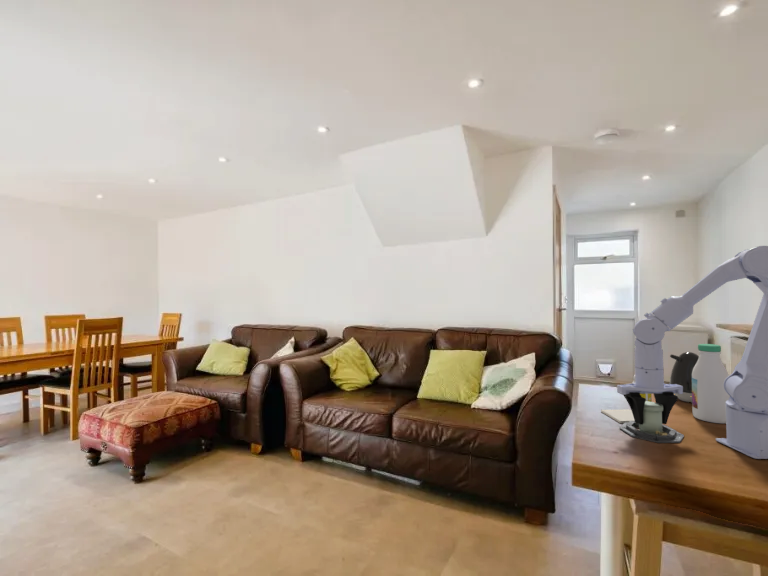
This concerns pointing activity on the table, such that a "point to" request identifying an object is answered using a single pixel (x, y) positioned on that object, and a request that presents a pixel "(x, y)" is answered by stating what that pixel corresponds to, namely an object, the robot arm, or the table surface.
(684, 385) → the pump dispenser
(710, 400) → the milk bottle
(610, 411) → the plate
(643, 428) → the pale green jar
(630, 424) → the bayonet collar
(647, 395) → the supplement bottle
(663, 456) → the table surface
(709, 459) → the table surface
